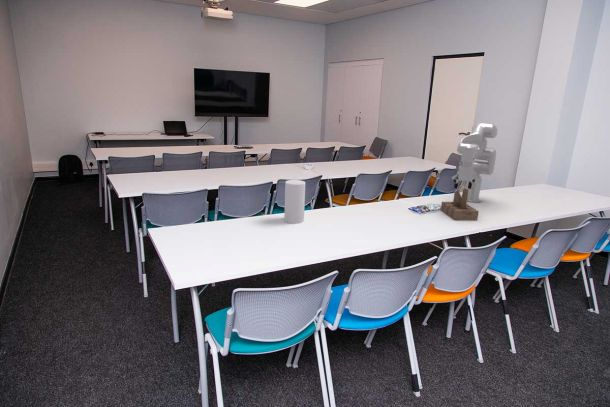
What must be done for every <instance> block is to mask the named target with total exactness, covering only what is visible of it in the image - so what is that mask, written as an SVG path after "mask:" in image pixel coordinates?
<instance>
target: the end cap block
mask: <svg viewBox="0 0 610 407" xmlns="http://www.w3.org/2000/svg"><path fill="white" fill-rule="evenodd" d="M440 205H441V206H440V211H441V212H443V213H444V214H445V215H446V216H448V218H451V219H452V220H453V221H478V217H479V212H480V211H479V210H477V209H476V208H474V207H472V206H471V205H469V204H468V203H466V209H459V208H457V207H456V206H454V205H453V201H441V204H440ZM460 206H461V204H460Z"/></svg>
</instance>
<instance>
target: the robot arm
mask: <svg viewBox="0 0 610 407" xmlns="http://www.w3.org/2000/svg"><path fill="white" fill-rule="evenodd" d="M497 135H498V128H497V126H496V124H494V123H488V122H477V123H475V124H474V125H473V126H472V128H471V132H470V134H468V135H465V136H464V137H462V138H461V139H460V141H459V143H458V144H457V149H456V151H457V153H458V154H459V155H461V156H460V161H459V162H458V165H459V166H458V168H457V172H456V174H455V175H452V176H451V179H452V182H454V186H453V187H454V189H455V190H458V188H459V182H467V187H466V189H468V190H469V191H468V197H467V202H468V203H469V202H471V203H480V202H481V199H480V198H479V197H480V193H481V186H482V180H483V179H482V177H481V175H486V176H488V175H489V176H491V175H492V174H494V169H495V165H496V164H495V163H496V158H497V152H496V151H497V150H496V149H495V148H492V147H491V148H490V147H487V145H488V139H494V138H496V136H497ZM474 159H475V160H474Z"/></svg>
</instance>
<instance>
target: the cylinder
mask: <svg viewBox="0 0 610 407" xmlns="http://www.w3.org/2000/svg"><path fill="white" fill-rule="evenodd" d="M284 183H285V184H284V185H285V186H284V213H283V214H284V222H286V223H288V224H293V225H294V224H302V223H303V222H304V221H305V205H306V204H305V203H306V202H305V201H306V182H305V181H303V180H302V179H301V180H299V179H290V180H289V179H288V180H286V181H285V182H284Z"/></svg>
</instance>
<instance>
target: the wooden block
mask: <svg viewBox="0 0 610 407" xmlns="http://www.w3.org/2000/svg"><path fill="white" fill-rule="evenodd" d="M468 191H469V190H468V189H467V188H462V194H461V192H460V191H454V192H453V194H454V195H453V200H452V202H453V205H454V206H456V207H457V208H459V209H466V204H468V203H467V202H468V201H467V197H468ZM460 204H461V206H460Z"/></svg>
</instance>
